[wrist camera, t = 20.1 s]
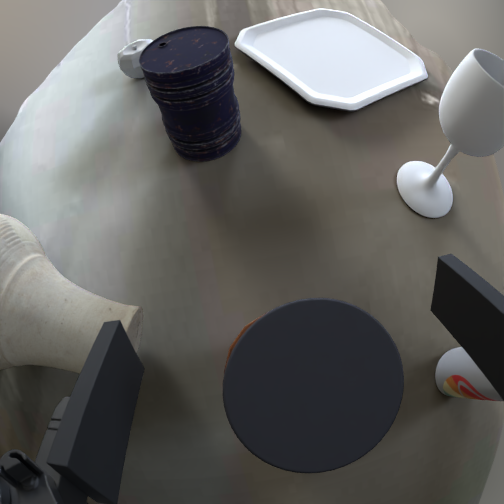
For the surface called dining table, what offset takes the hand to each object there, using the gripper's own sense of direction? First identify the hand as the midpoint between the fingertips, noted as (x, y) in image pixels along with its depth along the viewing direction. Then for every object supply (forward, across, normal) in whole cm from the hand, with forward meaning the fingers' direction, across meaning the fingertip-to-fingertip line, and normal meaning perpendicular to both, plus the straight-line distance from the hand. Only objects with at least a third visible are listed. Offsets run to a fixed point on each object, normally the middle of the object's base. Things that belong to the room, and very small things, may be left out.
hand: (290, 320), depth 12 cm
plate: (+46, -20, -17) cm, 53 cm away
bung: (+2, 0, +6) cm, 6 cm away
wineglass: (+25, -23, +4) cm, 34 cm away
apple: (+49, +14, -20) cm, 55 cm away
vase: (+18, +24, +11) cm, 32 cm away
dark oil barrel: (+35, +4, -6) cm, 35 cm away
